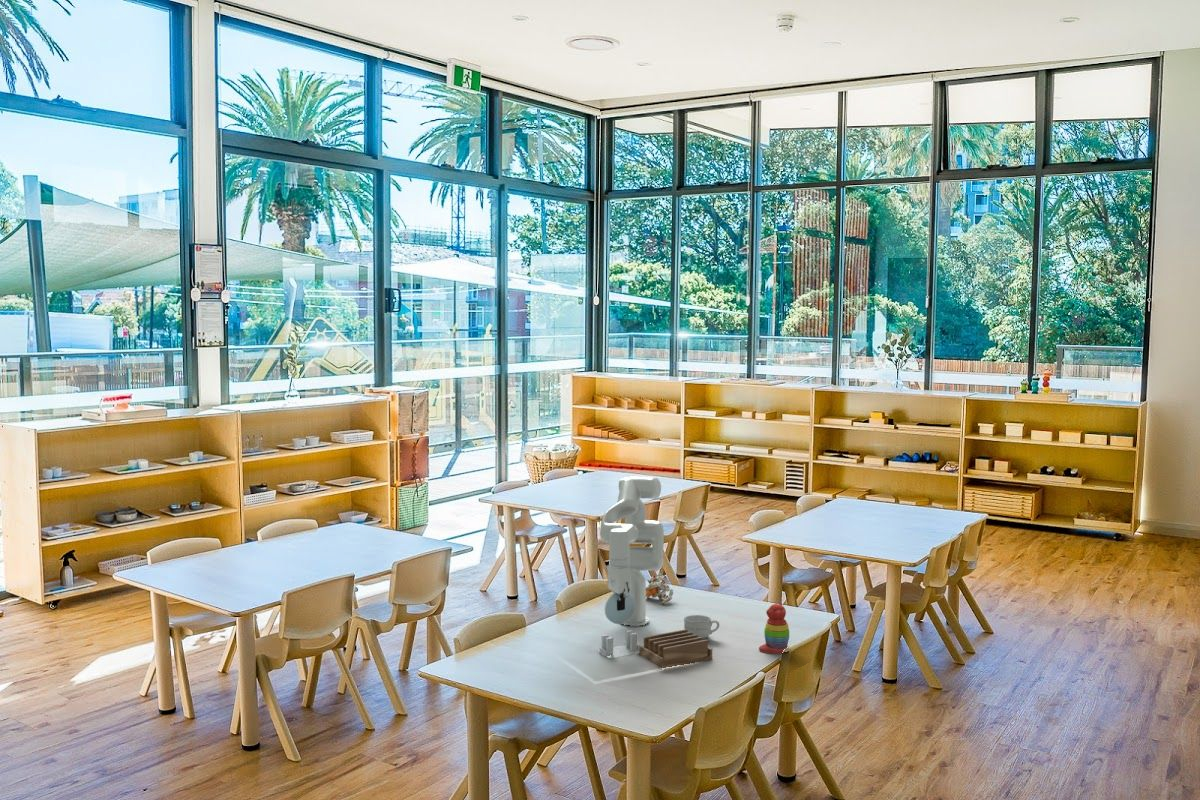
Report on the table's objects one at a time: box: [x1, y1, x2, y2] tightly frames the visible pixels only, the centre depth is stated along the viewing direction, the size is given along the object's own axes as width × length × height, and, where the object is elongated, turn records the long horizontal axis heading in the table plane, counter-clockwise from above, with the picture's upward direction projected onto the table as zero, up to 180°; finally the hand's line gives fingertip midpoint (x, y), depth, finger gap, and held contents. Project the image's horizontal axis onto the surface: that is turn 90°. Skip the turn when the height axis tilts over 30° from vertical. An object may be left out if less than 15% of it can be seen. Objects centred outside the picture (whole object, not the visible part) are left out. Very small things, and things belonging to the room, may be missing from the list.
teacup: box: [683, 614, 720, 640], centre depth 400 cm, size 14×11×8 cm
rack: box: [638, 629, 713, 668], centre depth 378 cm, size 16×22×7 cm
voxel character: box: [646, 572, 674, 605], centre depth 449 cm, size 11×10×15 cm
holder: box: [598, 629, 641, 659], centre depth 383 cm, size 10×15×8 cm, turn 119°
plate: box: [604, 593, 634, 625], centre depth 382 cm, size 1×12×12 cm, turn 119°
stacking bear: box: [758, 602, 790, 655], centre depth 386 cm, size 11×10×18 cm
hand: (619, 609), depth 382 cm, fingers closed on plate, 1 cm apart
